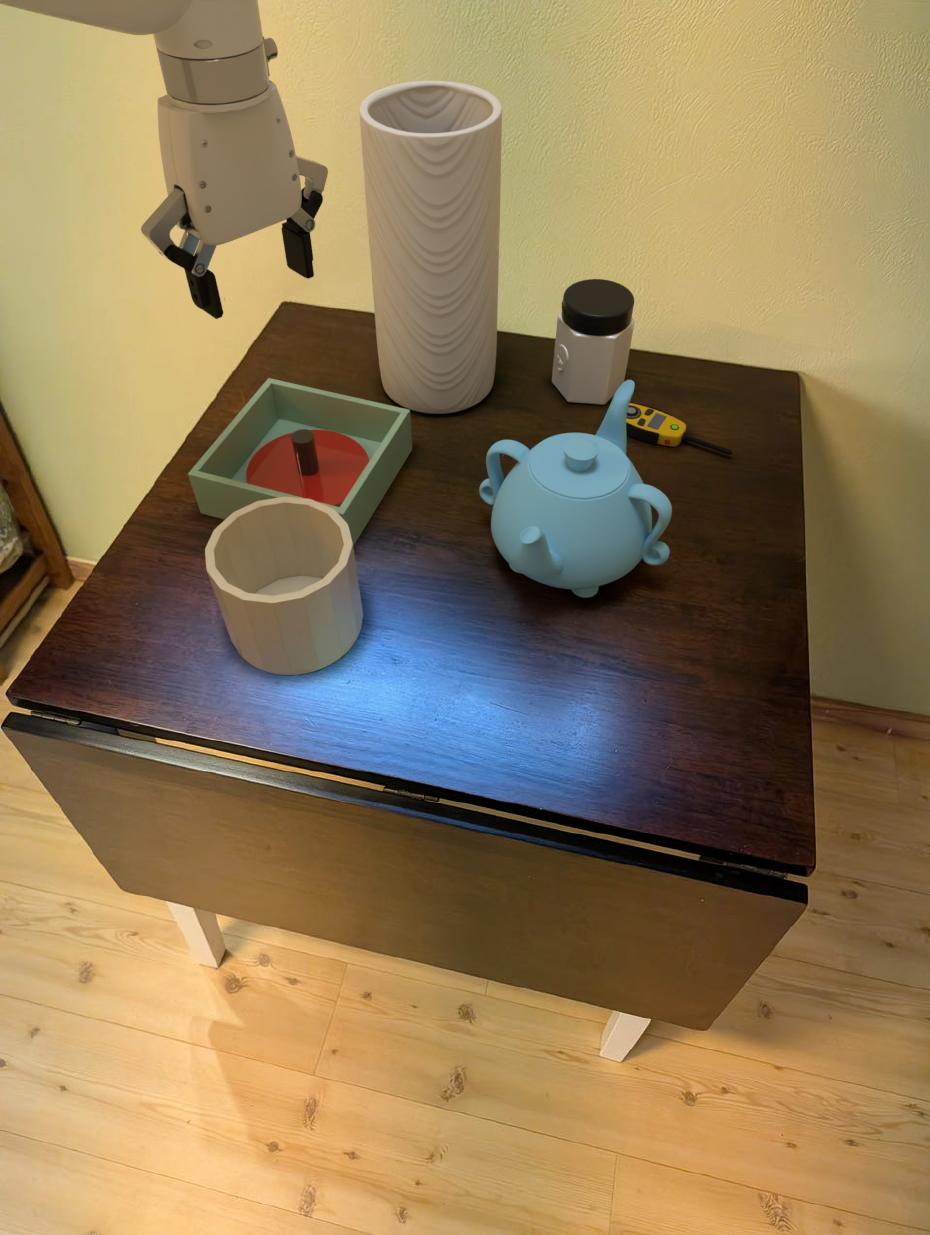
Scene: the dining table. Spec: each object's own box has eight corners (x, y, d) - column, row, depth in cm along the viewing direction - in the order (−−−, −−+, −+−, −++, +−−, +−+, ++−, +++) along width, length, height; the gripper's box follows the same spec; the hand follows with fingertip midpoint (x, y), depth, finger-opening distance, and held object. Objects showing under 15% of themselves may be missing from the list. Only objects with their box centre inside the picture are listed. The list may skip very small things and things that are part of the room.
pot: (237, 687, 77) (210, 614, 69) (226, 586, 84) (201, 510, 76) (373, 659, 79) (363, 585, 71) (351, 563, 86) (339, 486, 78)
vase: (399, 343, 111) (381, 73, 87) (505, 359, 109) (518, 86, 85) (365, 409, 102) (335, 128, 78) (480, 427, 100) (486, 144, 76)
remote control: (621, 393, 101) (742, 433, 97) (619, 406, 103) (738, 446, 98) (604, 415, 99) (727, 457, 94) (602, 428, 100) (723, 470, 95)
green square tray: (349, 553, 87) (343, 514, 83) (200, 513, 91) (187, 473, 87) (412, 449, 98) (410, 409, 93) (276, 417, 101) (268, 377, 97)
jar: (541, 373, 107) (549, 285, 98) (598, 358, 109) (610, 270, 100) (574, 413, 102) (585, 324, 93) (633, 397, 104) (649, 309, 95)
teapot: (614, 483, 94) (633, 375, 83) (676, 615, 82) (708, 510, 71) (471, 503, 92) (472, 396, 81) (514, 642, 80) (522, 537, 69)
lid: (254, 528, 89) (243, 489, 84) (242, 447, 97) (232, 407, 93) (381, 506, 91) (377, 466, 86) (359, 429, 99) (354, 389, 95)
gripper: (280, 33, 67) (308, 244, 80) (81, 87, 59) (148, 311, 72) (340, 57, 64) (359, 273, 77) (137, 118, 56) (197, 346, 69)
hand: (257, 291), depth 75 cm, fingers open, 9 cm apart
